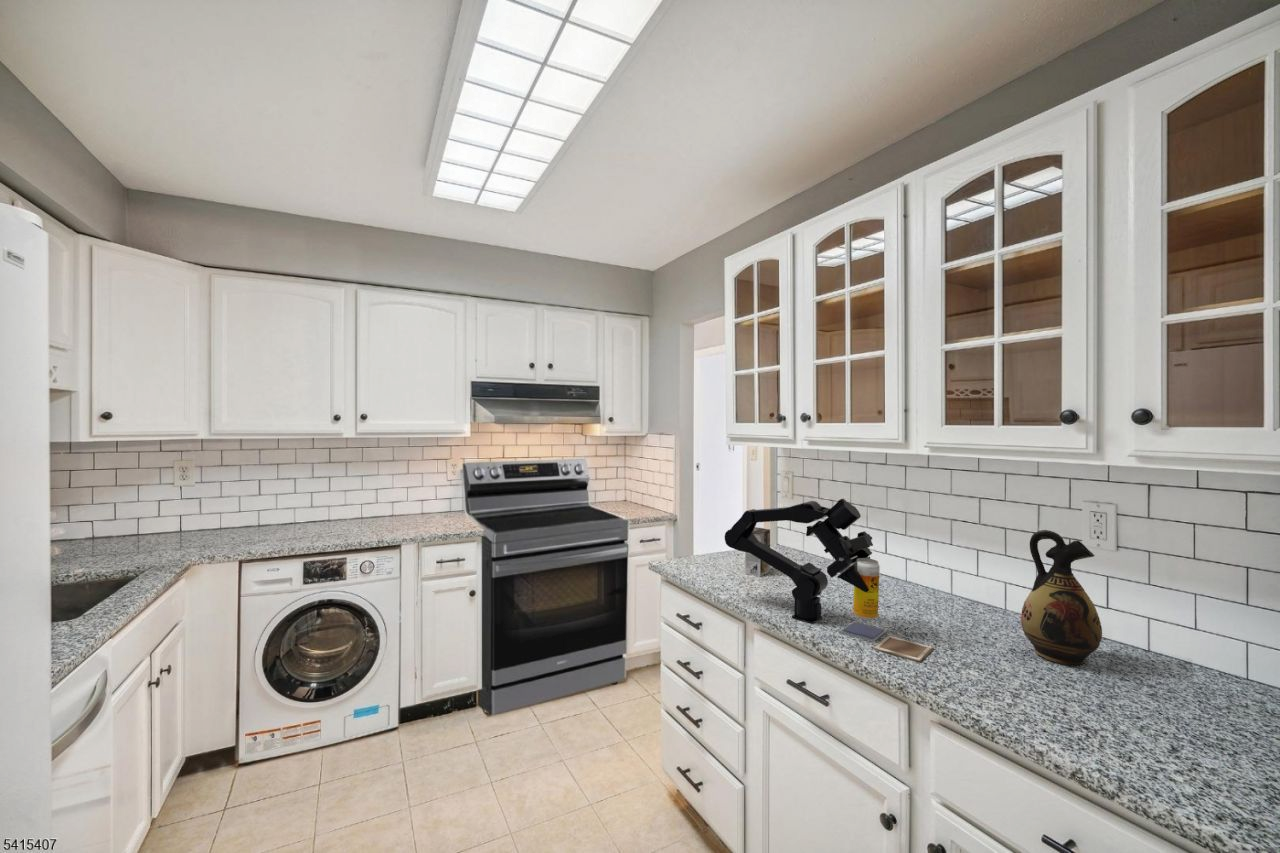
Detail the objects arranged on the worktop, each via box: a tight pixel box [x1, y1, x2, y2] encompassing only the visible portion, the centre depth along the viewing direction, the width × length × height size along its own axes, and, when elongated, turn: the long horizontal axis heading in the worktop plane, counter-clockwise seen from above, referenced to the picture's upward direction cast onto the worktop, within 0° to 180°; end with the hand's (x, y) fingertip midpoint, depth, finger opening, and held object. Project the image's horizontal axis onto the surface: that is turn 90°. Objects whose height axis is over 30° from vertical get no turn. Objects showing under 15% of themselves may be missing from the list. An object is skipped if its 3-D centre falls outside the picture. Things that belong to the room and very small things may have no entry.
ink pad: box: [839, 621, 888, 643], centre depth 145 cm, size 9×9×1 cm
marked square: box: [872, 635, 935, 664], centre depth 135 cm, size 11×11×1 cm
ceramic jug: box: [1012, 529, 1103, 667], centre depth 131 cm, size 17×15×30 cm
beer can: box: [852, 558, 881, 621], centre depth 145 cm, size 6×6×15 cm
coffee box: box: [744, 526, 771, 577], centre depth 203 cm, size 9×6×16 cm
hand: (871, 588), depth 144 cm, fingers closed on beer can, 6 cm apart
